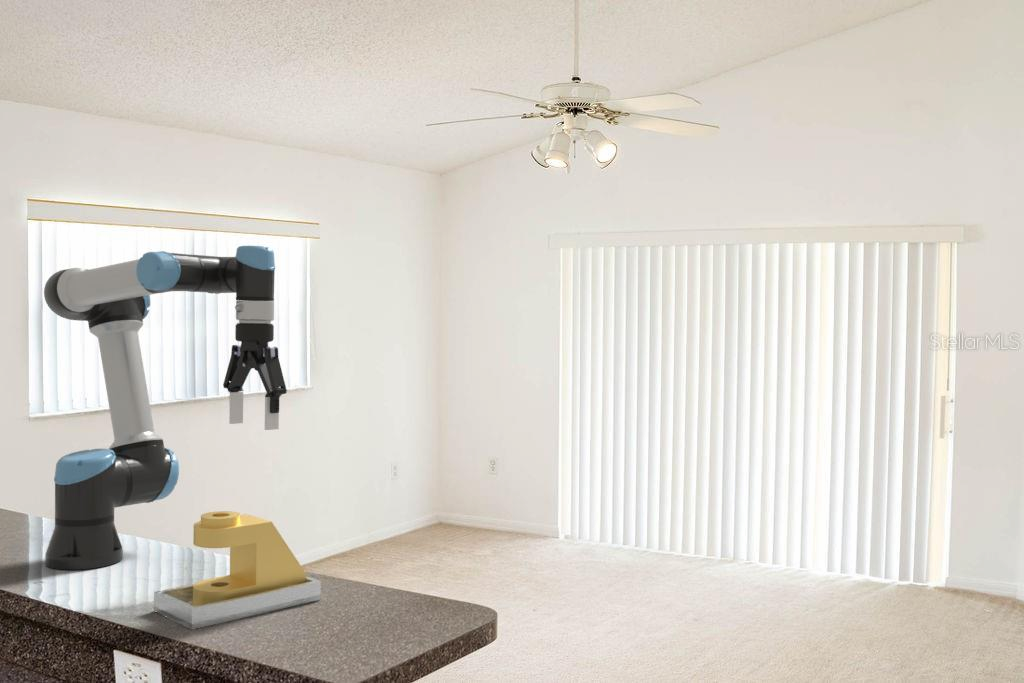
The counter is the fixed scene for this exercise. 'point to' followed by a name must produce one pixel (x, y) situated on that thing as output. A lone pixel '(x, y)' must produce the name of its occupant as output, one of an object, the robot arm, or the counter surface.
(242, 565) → the yellow mounting bracket
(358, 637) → the counter surface
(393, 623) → the counter surface
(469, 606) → the counter surface
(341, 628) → the counter surface
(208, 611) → the tray
